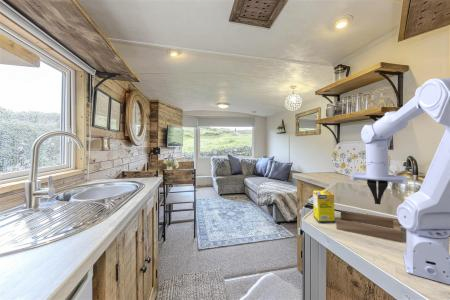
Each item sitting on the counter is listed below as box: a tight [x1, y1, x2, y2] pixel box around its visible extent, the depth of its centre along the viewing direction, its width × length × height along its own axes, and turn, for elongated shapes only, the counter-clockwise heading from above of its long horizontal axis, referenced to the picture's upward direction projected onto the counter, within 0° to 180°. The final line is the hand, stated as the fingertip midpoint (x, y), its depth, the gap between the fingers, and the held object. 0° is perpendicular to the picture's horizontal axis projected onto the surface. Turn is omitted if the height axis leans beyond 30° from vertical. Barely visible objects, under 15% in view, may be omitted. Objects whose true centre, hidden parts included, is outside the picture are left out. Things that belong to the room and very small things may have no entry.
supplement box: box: [312, 190, 336, 224], centre depth 77 cm, size 6×6×11 cm
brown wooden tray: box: [335, 210, 402, 243], centre depth 69 cm, size 11×17×3 cm, turn 52°
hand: (377, 203), depth 65 cm, fingers closed
